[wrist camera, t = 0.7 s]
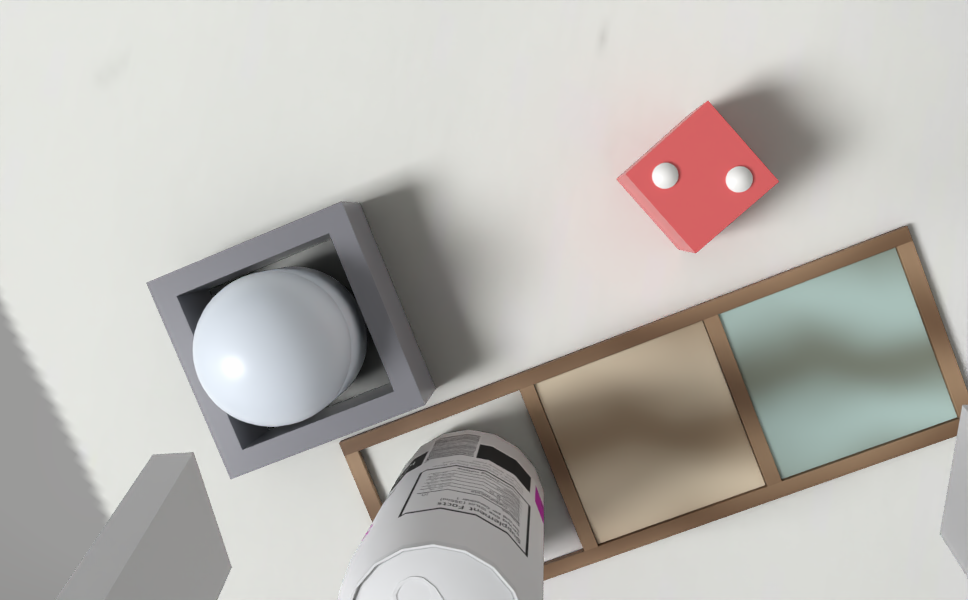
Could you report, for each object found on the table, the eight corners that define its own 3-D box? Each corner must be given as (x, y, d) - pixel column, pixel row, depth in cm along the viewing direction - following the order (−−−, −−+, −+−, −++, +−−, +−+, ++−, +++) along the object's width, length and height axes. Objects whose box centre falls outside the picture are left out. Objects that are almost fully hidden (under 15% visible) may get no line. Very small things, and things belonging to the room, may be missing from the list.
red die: (752, 185, 43) (780, 181, 38) (678, 249, 43) (696, 253, 38) (689, 114, 43) (708, 100, 37) (616, 179, 43) (625, 173, 38)
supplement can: (571, 525, 45) (584, 676, 30) (445, 593, 46) (396, 771, 31) (498, 400, 45) (473, 491, 30) (371, 471, 46) (287, 592, 31)
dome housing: (435, 388, 45) (425, 404, 41) (257, 456, 46) (230, 479, 42) (359, 203, 44) (341, 201, 40) (181, 277, 46) (146, 282, 42)
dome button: (390, 377, 43) (357, 410, 36) (262, 426, 44) (204, 469, 37) (335, 244, 43) (290, 250, 35) (207, 297, 44) (137, 313, 36)
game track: (976, 425, 43) (980, 427, 43) (416, 622, 46) (415, 625, 46) (904, 226, 42) (907, 226, 42) (341, 441, 46) (339, 443, 45)
